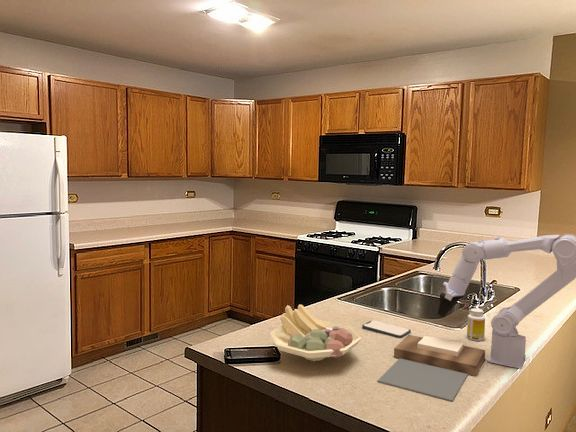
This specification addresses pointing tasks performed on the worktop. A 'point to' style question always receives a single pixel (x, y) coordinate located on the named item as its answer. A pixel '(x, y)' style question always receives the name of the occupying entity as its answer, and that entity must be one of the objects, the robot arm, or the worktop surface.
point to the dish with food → (312, 336)
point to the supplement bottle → (476, 325)
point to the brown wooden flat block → (441, 356)
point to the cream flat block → (440, 345)
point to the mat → (424, 379)
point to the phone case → (386, 329)
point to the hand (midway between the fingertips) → (443, 312)
